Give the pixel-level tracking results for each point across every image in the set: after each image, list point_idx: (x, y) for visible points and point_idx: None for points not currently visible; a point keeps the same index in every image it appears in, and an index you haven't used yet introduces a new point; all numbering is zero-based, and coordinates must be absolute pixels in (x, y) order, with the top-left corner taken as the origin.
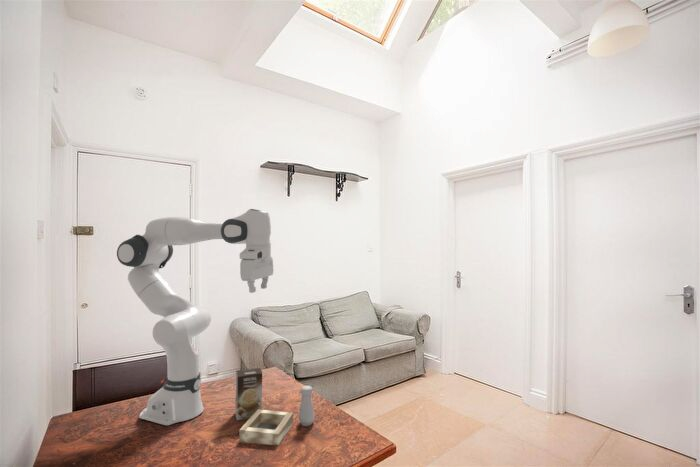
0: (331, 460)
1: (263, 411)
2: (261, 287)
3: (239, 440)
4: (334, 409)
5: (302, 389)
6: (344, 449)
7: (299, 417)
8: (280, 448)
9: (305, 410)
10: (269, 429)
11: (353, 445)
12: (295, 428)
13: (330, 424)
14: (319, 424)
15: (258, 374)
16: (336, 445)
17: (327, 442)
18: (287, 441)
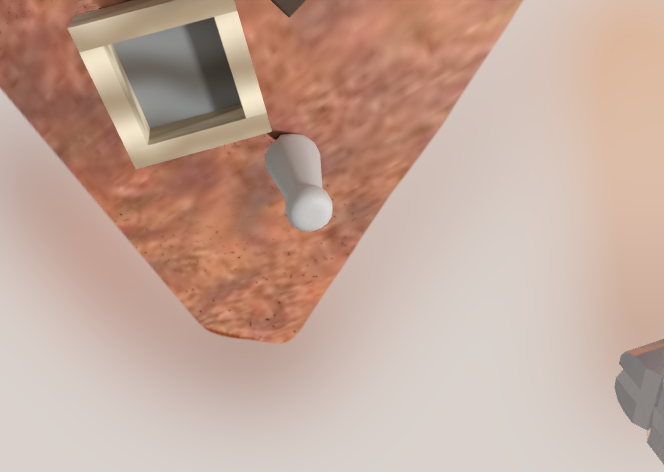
0: (172, 286)
1: (227, 21)
2: (636, 368)
3: (74, 17)
4: (399, 179)
5: (292, 209)
6: (226, 288)
7: (270, 151)
8: None
9: (277, 185)
10: (139, 127)
11: (251, 296)
12: None
13: None
14: None
15: (273, 1)
16: (231, 268)
17: (231, 245)
18: None
